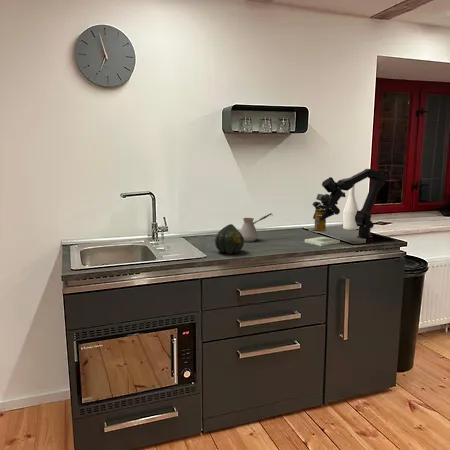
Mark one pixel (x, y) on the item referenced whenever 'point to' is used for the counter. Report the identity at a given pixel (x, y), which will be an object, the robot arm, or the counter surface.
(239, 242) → the squash
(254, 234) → the coffee pot
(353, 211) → the wine bottle
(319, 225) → the condiment
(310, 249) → the counter surface
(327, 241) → the board
